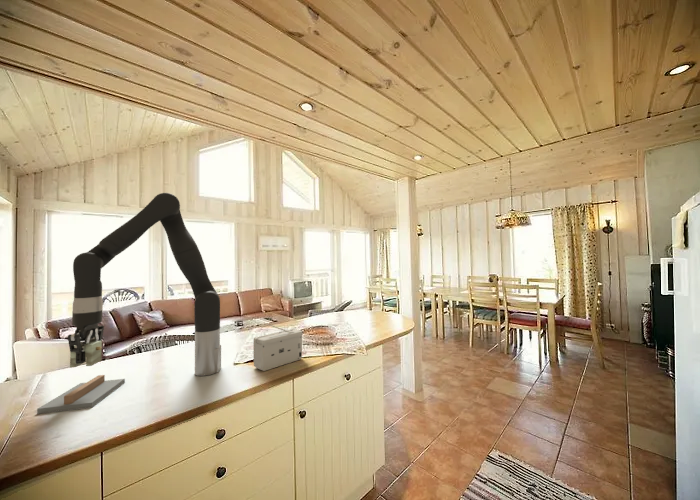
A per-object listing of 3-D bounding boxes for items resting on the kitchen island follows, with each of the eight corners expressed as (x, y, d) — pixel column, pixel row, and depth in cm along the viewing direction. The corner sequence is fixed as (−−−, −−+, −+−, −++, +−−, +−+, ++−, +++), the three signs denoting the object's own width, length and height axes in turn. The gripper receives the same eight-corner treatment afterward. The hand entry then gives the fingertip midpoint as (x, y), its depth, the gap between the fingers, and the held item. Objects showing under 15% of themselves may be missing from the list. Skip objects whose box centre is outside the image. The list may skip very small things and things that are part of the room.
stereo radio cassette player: (294, 355, 131) (294, 313, 131) (304, 359, 125) (304, 315, 126) (252, 368, 116) (252, 320, 117) (261, 373, 110) (261, 323, 111)
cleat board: (124, 382, 104) (124, 372, 104) (91, 407, 86) (92, 394, 86) (80, 387, 100) (80, 376, 100) (37, 413, 83) (37, 400, 83)
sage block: (104, 360, 97) (105, 340, 97) (94, 365, 92) (95, 344, 92) (80, 362, 95) (81, 341, 96) (69, 367, 90) (70, 346, 91)
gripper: (86, 313, 88) (84, 366, 88) (113, 306, 102) (112, 352, 102) (57, 314, 87) (55, 369, 86) (89, 307, 101) (88, 354, 100)
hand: (86, 359), depth 94 cm, fingers closed on sage block, 5 cm apart
